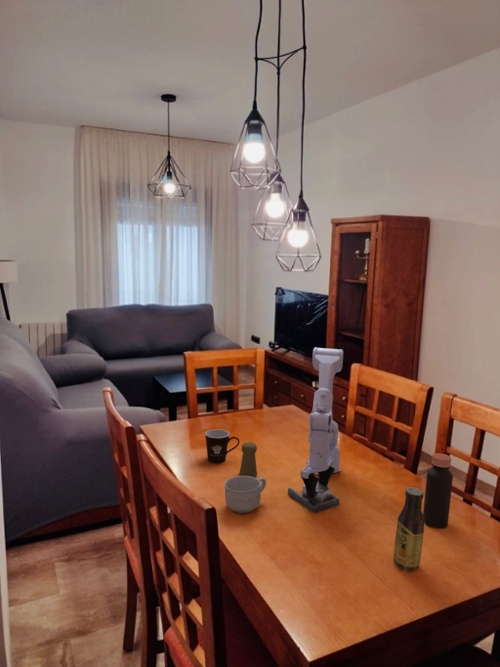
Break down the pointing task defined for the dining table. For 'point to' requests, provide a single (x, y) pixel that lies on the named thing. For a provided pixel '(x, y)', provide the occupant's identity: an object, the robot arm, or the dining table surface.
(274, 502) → the dining table surface
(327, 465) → the robot arm
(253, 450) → the olive pawn piece
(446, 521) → the dark water bottle
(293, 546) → the dining table surface
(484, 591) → the dining table surface
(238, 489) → the teacup
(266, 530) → the dining table surface
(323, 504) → the channel bracket
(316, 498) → the block
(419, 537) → the sauce bottle
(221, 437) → the coffee mug
